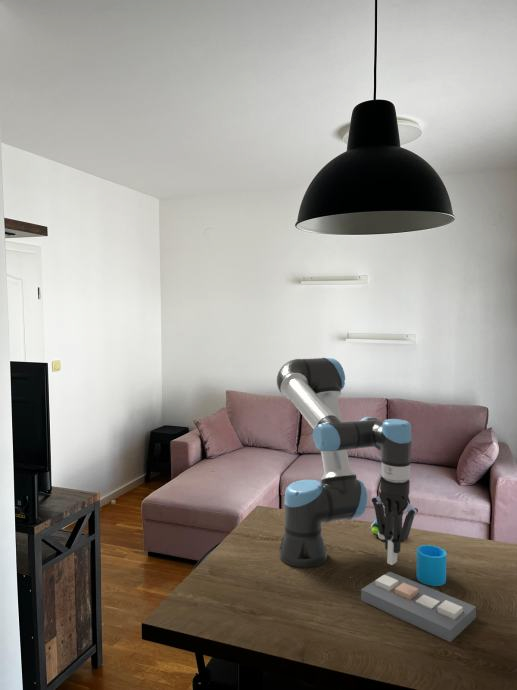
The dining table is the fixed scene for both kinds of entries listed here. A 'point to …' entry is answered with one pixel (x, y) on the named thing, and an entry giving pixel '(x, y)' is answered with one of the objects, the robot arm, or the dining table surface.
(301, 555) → the robot arm
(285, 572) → the dining table surface
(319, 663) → the dining table surface
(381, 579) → the key
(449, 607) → the key
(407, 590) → the key
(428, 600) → the key
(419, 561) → the mug
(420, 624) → the keypad
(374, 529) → the multicoloured ball cluster
